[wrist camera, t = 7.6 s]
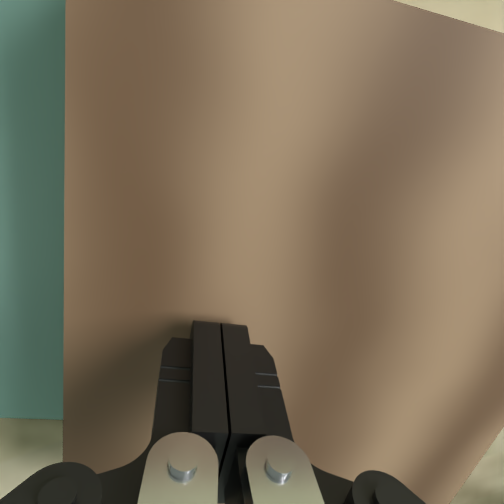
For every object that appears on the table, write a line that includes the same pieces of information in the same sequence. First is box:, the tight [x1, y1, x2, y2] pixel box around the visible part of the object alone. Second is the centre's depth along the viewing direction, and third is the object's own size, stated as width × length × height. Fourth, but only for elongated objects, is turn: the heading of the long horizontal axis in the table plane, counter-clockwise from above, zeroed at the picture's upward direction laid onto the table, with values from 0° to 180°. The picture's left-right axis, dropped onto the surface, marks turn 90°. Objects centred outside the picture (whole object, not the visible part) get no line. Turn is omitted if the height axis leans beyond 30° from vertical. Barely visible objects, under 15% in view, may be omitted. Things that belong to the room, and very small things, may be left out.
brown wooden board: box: [63, 0, 504, 504], centre depth 14 cm, size 16×18×4 cm
